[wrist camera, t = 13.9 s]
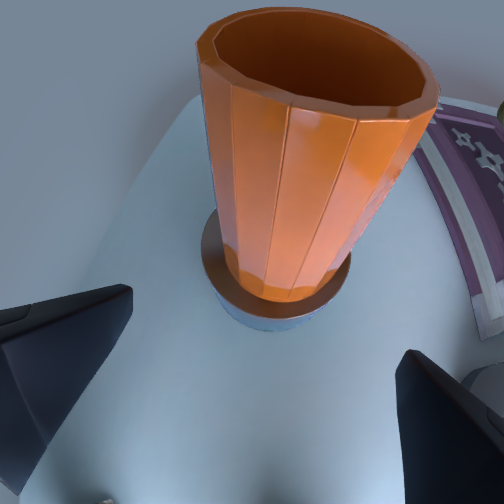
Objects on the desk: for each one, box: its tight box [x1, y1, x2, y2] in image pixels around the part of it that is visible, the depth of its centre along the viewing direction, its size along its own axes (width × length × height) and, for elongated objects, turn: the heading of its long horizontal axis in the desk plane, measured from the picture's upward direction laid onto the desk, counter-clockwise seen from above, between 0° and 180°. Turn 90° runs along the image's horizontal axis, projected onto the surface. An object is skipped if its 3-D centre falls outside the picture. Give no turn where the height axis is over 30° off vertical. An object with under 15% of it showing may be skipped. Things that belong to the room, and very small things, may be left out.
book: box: [413, 103, 504, 341], centre depth 24 cm, size 25×16×5 cm, turn 7°
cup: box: [196, 7, 441, 302], centre depth 13 cm, size 7×7×13 cm
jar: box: [201, 209, 351, 332], centre depth 21 cm, size 9×9×5 cm
